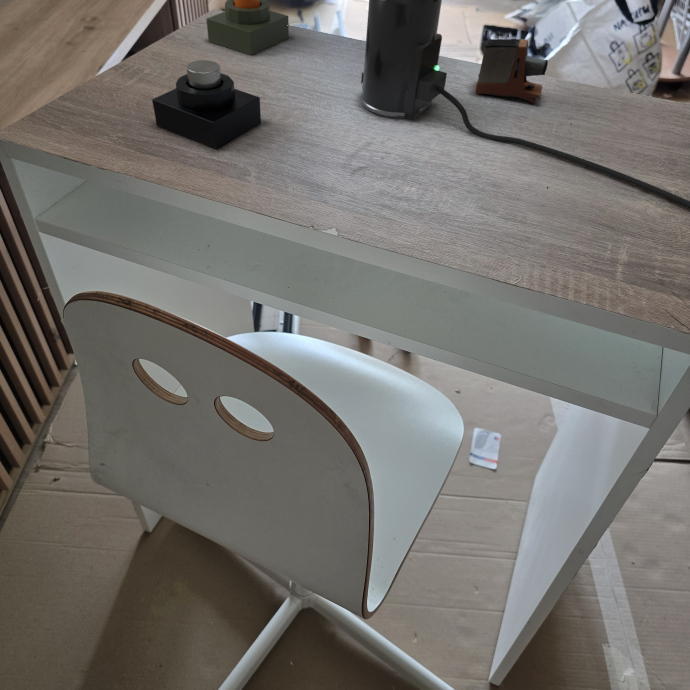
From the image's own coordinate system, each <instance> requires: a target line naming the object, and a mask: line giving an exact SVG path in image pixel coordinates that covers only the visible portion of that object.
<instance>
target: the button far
mask: <svg viewBox="0 0 690 690" xmlns="http://www.w3.org/2000/svg"><path fill="white" fill-rule="evenodd" d="M234 1H235V6H236V7H240V8H248V9H249V8H257V7H259V6H260V0H234Z"/></svg>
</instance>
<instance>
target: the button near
mask: <svg viewBox="0 0 690 690" xmlns="http://www.w3.org/2000/svg"><path fill="white" fill-rule="evenodd" d="M220 73H221V66H220V64H219V63H217V62H216V61H213V60H208V59H200V60H193V61H191V62H189V63H187V65H186V74H187V76H188V83H189V87H190V88H192V89H195V90H206V91H207V90H213V89H217V88H219V87H221V75H220Z"/></svg>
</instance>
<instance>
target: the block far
mask: <svg viewBox="0 0 690 690" xmlns="http://www.w3.org/2000/svg"><path fill="white" fill-rule="evenodd" d="M205 20H206V30H207V39H208V43H213V44H216V45H218V46H221V47H225V48H228V49H230V50H231V49H232V50H234V51H237V52H241V53H244V54H246V55H250V56H253V55H256V54H258V53H260V52H262V51H264V50H266V49H269V48H271V47H272V46H274V45H277V44H279V43H281V42H284V41H285V40H287V39H289V36H290V34H289V32H290V31H289V30H290V29H289V25H290V24H289V21H290V20H289V15H287V14H283V13H280V12H278V11H277V12H276V11H274V10H270V2H269V1H268V0H260V6H259V7H257V8H249V9H248V8H240V7H236V6H235V1H234V0H226V1H225V3H224V11H223V12H220V13H217V14H215V15H212V16H210V17H207V18H206V19H205ZM287 25H288V26H287Z"/></svg>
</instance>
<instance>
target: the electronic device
mask: <svg viewBox="0 0 690 690" xmlns="http://www.w3.org/2000/svg"><path fill="white" fill-rule="evenodd" d="M528 52H529V40H528V39H523V38H521V39H520V38H507V39H505V38H504V39H503V38H499V39H498V38H497V39H496V38H493V39H491V38H489V39H487V40H486V42H485V44H484V46H483V54H482V59H481V64H480V69H479V73H478V79H477V81H476V86H475V94H476V95H489V96H492V97H493V96H494V97H503V98H511V99H522V100H525V101H527V102H529V103H530V104H532V105H534V104H535V103H536V100H541V98H542V97H541V96H542V90H543V85H542V84H539V83H535V82H531V81H528V79H527V78H528V77H536V76H538V77H539V76H545V75H546V72H547V70H548V63H549V60H548V59H542V58H538V57H533V56H529V55H528Z"/></svg>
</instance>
